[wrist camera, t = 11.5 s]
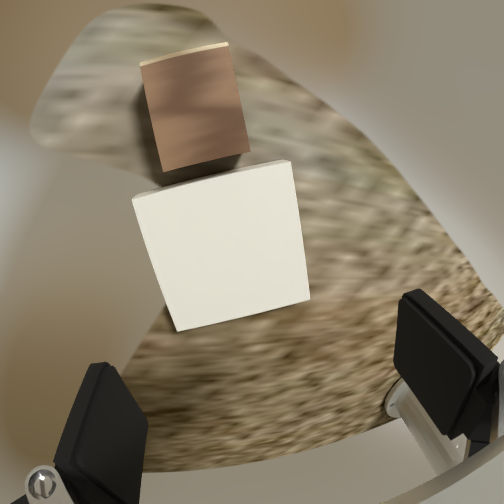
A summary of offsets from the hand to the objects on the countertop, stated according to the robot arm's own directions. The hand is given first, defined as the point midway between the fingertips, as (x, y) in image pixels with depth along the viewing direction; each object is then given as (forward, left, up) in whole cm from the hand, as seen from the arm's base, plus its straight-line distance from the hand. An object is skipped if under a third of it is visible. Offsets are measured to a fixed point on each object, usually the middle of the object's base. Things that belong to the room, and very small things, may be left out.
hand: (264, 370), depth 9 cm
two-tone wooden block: (0, -5, -16) cm, 16 cm away
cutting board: (0, +2, -17) cm, 17 cm away
